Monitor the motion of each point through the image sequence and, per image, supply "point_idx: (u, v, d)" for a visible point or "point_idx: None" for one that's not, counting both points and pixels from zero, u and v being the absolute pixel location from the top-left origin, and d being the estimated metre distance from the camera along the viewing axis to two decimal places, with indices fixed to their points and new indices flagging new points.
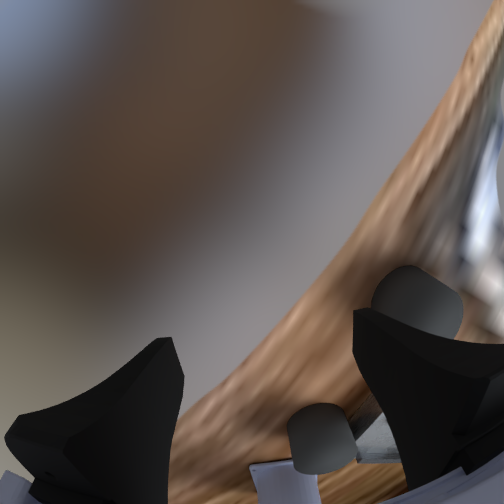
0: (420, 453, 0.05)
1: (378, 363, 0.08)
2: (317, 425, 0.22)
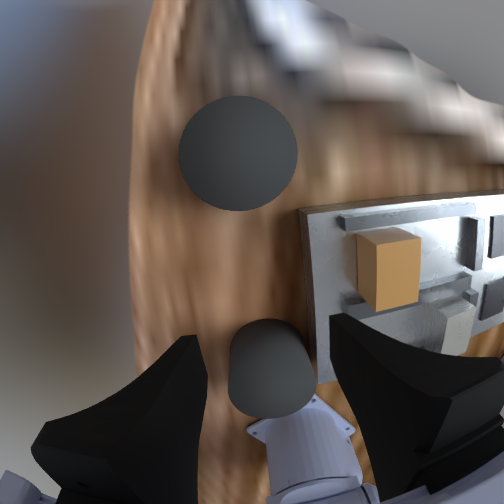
0: (387, 466, 0.05)
1: (350, 370, 0.08)
2: (239, 349, 0.20)
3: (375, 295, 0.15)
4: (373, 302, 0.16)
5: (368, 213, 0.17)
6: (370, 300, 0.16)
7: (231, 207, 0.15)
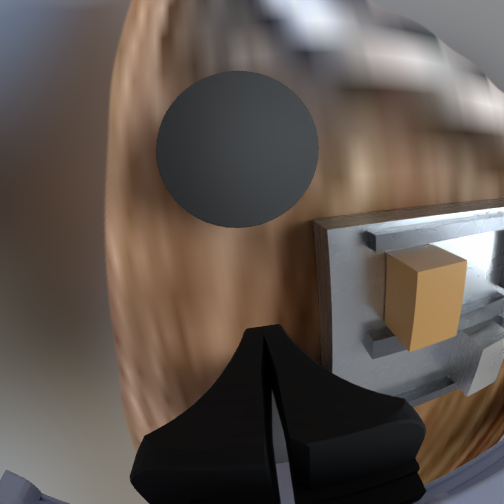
0: (293, 490, 0.05)
1: (274, 385, 0.08)
2: None
3: (410, 333, 0.11)
4: (406, 340, 0.12)
5: (402, 228, 0.13)
6: (402, 337, 0.12)
7: (228, 222, 0.11)
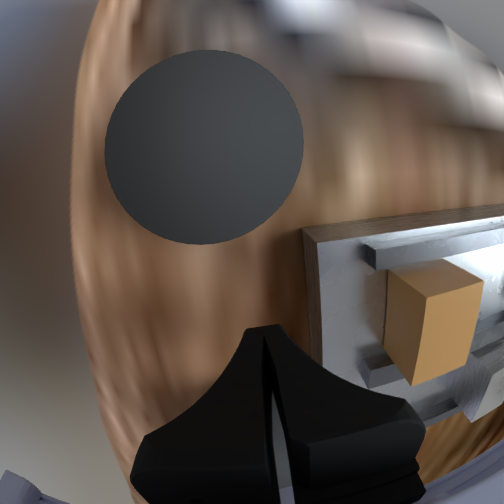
0: (293, 489, 0.05)
1: (274, 385, 0.08)
2: None
3: (413, 366, 0.09)
4: (408, 373, 0.10)
5: (408, 240, 0.10)
6: (403, 368, 0.10)
7: (189, 238, 0.09)
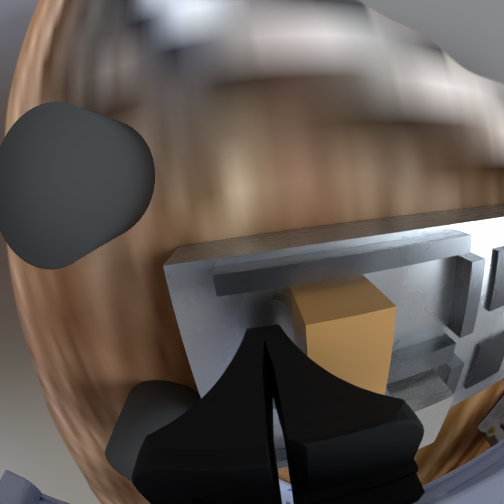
0: (292, 489, 0.05)
1: (273, 385, 0.08)
2: (120, 417, 0.13)
3: None
4: None
5: (262, 263, 0.10)
6: None
7: (42, 264, 0.09)
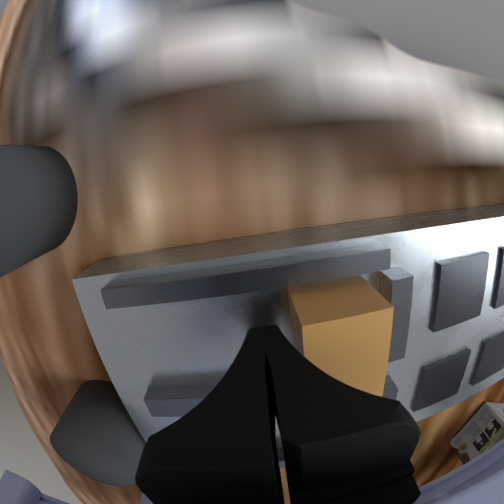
0: None
1: (270, 385, 0.08)
2: (64, 411, 0.13)
3: None
4: None
5: (144, 280, 0.10)
6: None
7: None
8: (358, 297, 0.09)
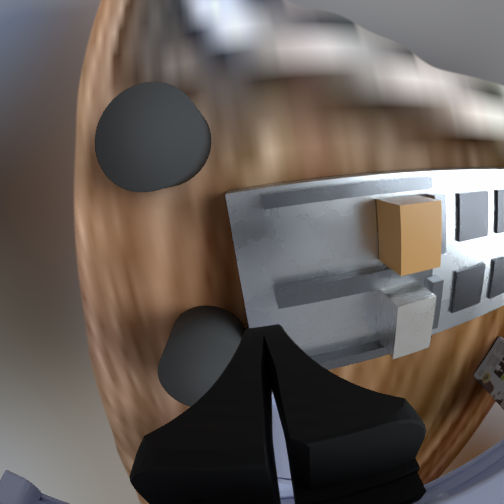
0: (293, 489, 0.05)
1: (274, 385, 0.08)
2: (171, 335, 0.19)
3: (400, 258, 0.15)
4: (397, 266, 0.15)
5: (292, 189, 0.16)
6: (394, 265, 0.16)
7: (139, 188, 0.14)
8: (420, 199, 0.15)
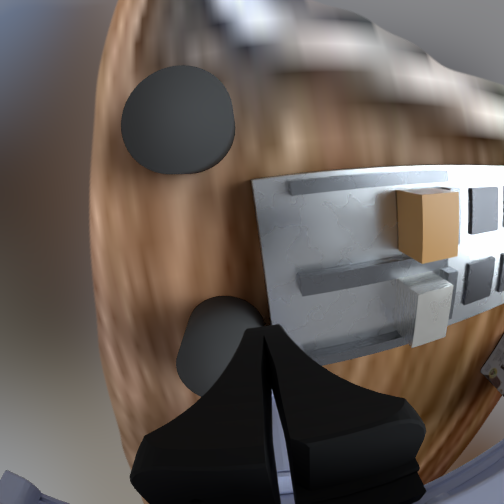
0: (293, 489, 0.05)
1: (274, 385, 0.08)
2: (190, 325, 0.19)
3: (421, 246, 0.15)
4: (418, 254, 0.15)
5: (318, 177, 0.16)
6: (415, 254, 0.15)
7: (167, 170, 0.14)
8: (438, 190, 0.15)
